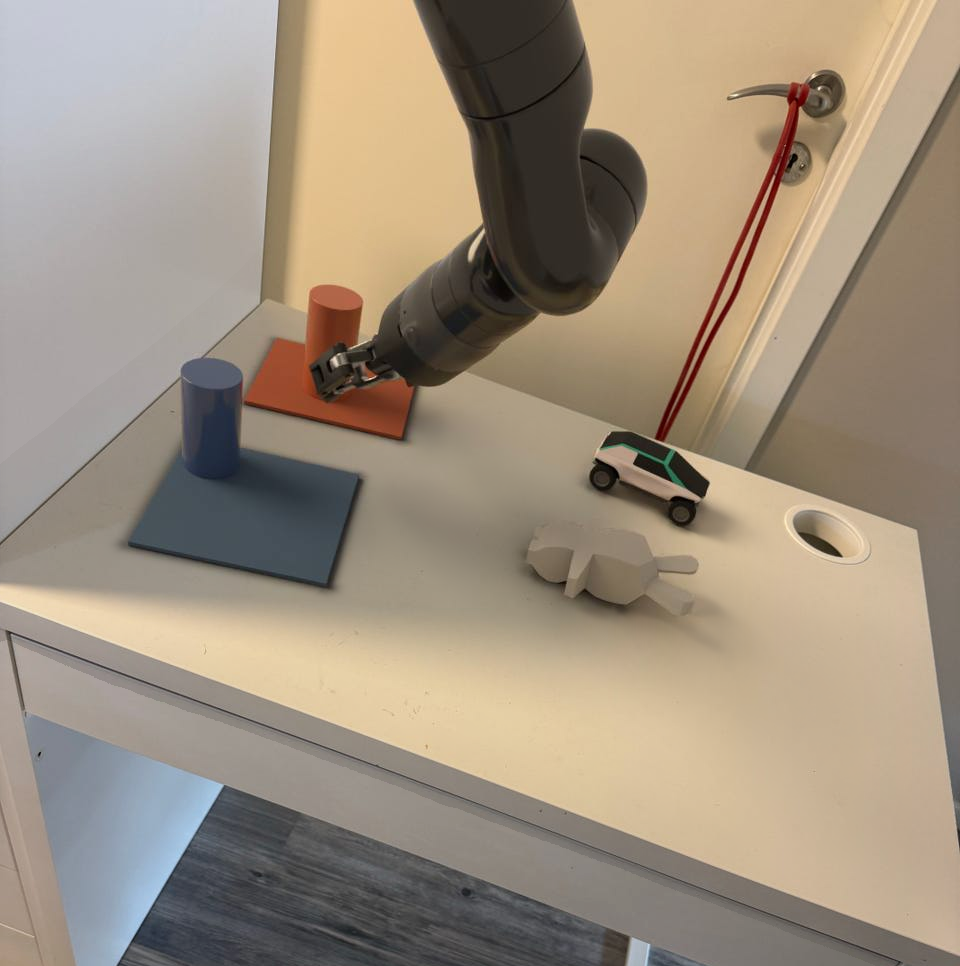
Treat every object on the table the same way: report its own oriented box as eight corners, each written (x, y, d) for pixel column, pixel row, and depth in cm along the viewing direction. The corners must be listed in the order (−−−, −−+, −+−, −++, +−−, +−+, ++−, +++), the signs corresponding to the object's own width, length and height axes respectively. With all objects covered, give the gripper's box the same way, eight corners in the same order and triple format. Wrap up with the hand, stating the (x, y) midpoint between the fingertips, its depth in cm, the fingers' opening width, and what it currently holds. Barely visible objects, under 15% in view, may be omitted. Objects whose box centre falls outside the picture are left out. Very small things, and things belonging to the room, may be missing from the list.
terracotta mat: (243, 403, 88) (244, 400, 87) (276, 340, 98) (277, 337, 97) (400, 440, 89) (401, 436, 89) (417, 374, 99) (418, 371, 99)
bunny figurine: (546, 494, 81) (707, 534, 79) (538, 539, 84) (691, 577, 83) (523, 552, 74) (698, 597, 72) (515, 598, 78) (682, 642, 76)
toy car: (599, 458, 95) (615, 416, 92) (701, 503, 93) (721, 462, 90) (581, 483, 91) (597, 440, 87) (688, 531, 89) (709, 488, 86)
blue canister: (174, 471, 77) (172, 380, 71) (191, 441, 81) (191, 352, 74) (231, 484, 78) (234, 394, 71) (246, 453, 81) (249, 365, 75)
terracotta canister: (296, 394, 90) (304, 301, 83) (307, 370, 94) (315, 279, 87) (346, 406, 91) (358, 314, 84) (355, 381, 94) (367, 292, 88)
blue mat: (127, 545, 70) (127, 541, 70) (189, 439, 82) (189, 435, 81) (325, 587, 72) (326, 583, 71) (358, 477, 83) (359, 474, 83)
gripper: (509, 262, 69) (421, 333, 83) (347, 281, 62) (281, 355, 77) (535, 356, 70) (444, 410, 84) (378, 385, 63) (307, 438, 78)
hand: (366, 384), depth 80 cm, fingers open, 8 cm apart
